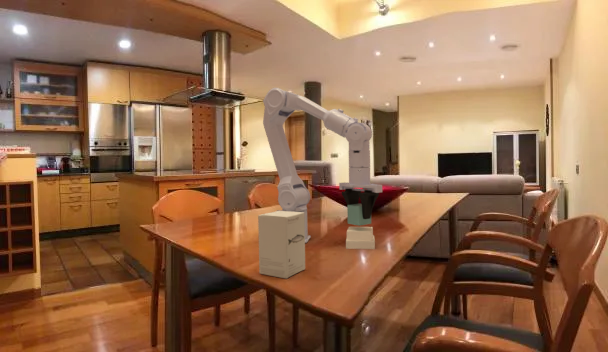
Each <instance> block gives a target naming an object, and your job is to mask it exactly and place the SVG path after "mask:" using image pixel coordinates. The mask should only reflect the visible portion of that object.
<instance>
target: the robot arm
mask: <svg viewBox="0 0 608 352" xmlns="http://www.w3.org/2000/svg"><path fill="white" fill-rule="evenodd" d="M262 103H263V105H264V111H263V121H262V124H263V129H264V131H265V134H266V137H267V141H268V145H269V148H270V152H271V154H272V158H273V162H274V165H275V168H276V171H277V174H278V178H279V183H278V185H277V186H276V187H277V191H278V196H277V197H278V198H277V202H278V205H279V206H280V208H281V209H278V210H276V211H291V212H304V222H305V244H307V243H308V242H309V240H310V239H311V235H309V233H308V207H307V206H308V204H309V203H310V200H311V193H310V191H309V189H308V188H307V187H306V185H305V183H304V181H303V179H302V178H300V176H299V175H298V172H297V169H296V166H295V162H294V159H293V155H292V153H291V149H290V146H289V141H288V139H287V136H286V133H285V129H284V124H285V122H286V120H287V119H288V118H289V117H290V116H292V114H293V113H294V112H295V111H299V112H300V111H303V112H304V113H307V114H309V115H310V116H313V117H315V118H316V119H318V120H321V121H322V122H323V125H324V127H325V128H326V129H328V130H329V131H331V132H333V133H335V134H337V135H339V136H340V137H342V138H345V139H346V140H347V142H348V182H345V181H344V182H339V183H338V185H339V189H338V190H342V191H341V195H342V197H343V198H344V201H345V203H346V205H353V204H359V202H360V204H362V214H363V219H370V217H371V218H372V212H373V210H374V206H375V202H377V201H376V200H378V198H379V195H380V193H383V184H376V183H371V150H370V148H371V147H370V142H371V141H370V140H371V139H372V137H373V133H372V132H373V131H372V128H371V127H370V126H369V125H367V123H365V122H359V118H357V117H351V116H350V115H348V114H346V113H344V112H345V111H344V110H343V109H341V108H338V109H337V108H333V109H330V110H328V109H327V108H325V107H323V106H321V105H320V104H317V103H316V102H314V101H313V100H311V99H309V98H307V97H306V96H303V95H301V94H300V95H299V94H297V93H294V92H291V91H288V90H284V89H282V88H280V87H273V88H271V89H269V90H268V92H267V93H266V95H265V96H264V98H263V100H262ZM343 190H344V191H343ZM359 200H360V201H359Z"/></svg>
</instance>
